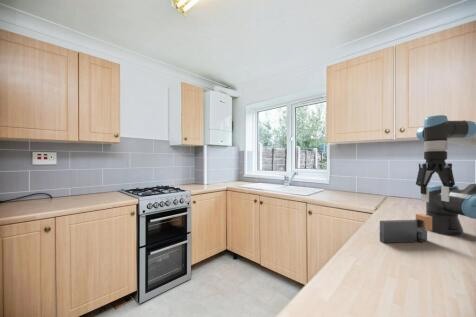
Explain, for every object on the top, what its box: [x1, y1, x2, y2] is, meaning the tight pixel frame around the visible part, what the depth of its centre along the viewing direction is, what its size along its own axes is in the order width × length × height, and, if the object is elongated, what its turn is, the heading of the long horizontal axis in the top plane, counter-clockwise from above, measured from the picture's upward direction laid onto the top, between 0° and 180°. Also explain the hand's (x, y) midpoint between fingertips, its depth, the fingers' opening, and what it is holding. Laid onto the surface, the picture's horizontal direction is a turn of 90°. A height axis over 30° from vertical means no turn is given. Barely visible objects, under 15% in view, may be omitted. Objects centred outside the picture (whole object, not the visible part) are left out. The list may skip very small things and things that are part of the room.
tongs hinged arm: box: [381, 220, 418, 244], centre depth 91 cm, size 15×1×9 cm, turn 94°
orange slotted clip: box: [415, 213, 432, 232], centre depth 93 cm, size 3×4×6 cm
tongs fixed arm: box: [379, 219, 428, 244], centre depth 92 cm, size 22×3×9 cm, turn 95°
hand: (435, 201), depth 93 cm, fingers open, 9 cm apart
